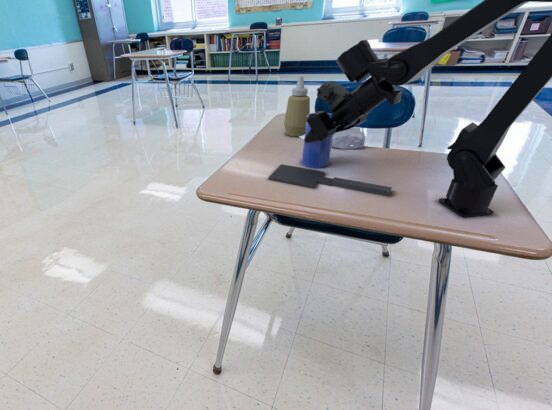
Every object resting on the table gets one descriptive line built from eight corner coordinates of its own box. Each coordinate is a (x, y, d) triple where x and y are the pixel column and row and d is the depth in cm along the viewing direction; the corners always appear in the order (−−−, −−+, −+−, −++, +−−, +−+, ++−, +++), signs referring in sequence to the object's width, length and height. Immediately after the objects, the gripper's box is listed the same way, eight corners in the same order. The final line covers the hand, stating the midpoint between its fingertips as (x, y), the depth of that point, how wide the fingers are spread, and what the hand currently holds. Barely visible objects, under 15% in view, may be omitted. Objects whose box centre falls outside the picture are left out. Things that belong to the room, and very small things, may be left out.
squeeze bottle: (311, 132, 109) (318, 75, 101) (303, 139, 104) (310, 79, 95) (288, 129, 113) (292, 74, 104) (279, 136, 108) (283, 78, 99)
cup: (332, 166, 84) (340, 118, 78) (307, 169, 84) (313, 120, 78) (322, 157, 90) (328, 111, 84) (298, 159, 90) (303, 113, 84)
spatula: (392, 185, 74) (393, 181, 73) (387, 203, 67) (388, 198, 67) (281, 166, 86) (281, 162, 86) (268, 179, 80) (268, 175, 79)
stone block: (330, 154, 96) (367, 148, 93) (328, 138, 94) (366, 132, 91) (325, 142, 107) (359, 137, 104) (324, 127, 105) (358, 122, 102)
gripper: (364, 65, 78) (317, 105, 91) (319, 75, 68) (274, 119, 81) (390, 103, 76) (339, 139, 89) (349, 120, 66) (298, 157, 79)
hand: (313, 137), depth 85 cm, fingers closed on cup, 7 cm apart
